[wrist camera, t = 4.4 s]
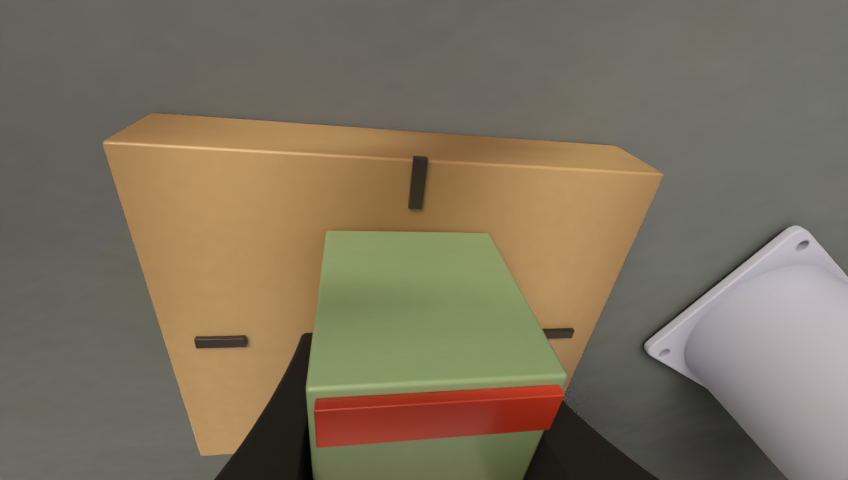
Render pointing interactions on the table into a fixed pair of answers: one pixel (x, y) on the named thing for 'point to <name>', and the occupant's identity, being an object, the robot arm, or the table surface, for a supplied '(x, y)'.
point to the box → (425, 361)
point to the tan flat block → (349, 211)
